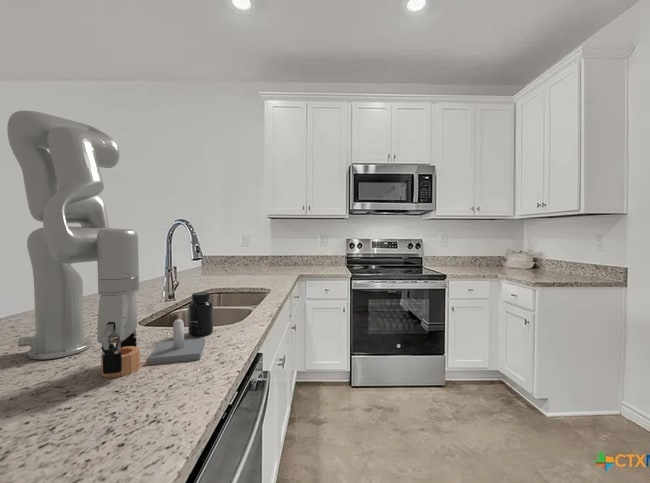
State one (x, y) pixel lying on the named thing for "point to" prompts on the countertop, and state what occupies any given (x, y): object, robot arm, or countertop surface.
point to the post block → (177, 347)
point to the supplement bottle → (200, 315)
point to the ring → (126, 361)
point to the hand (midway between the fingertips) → (121, 363)
